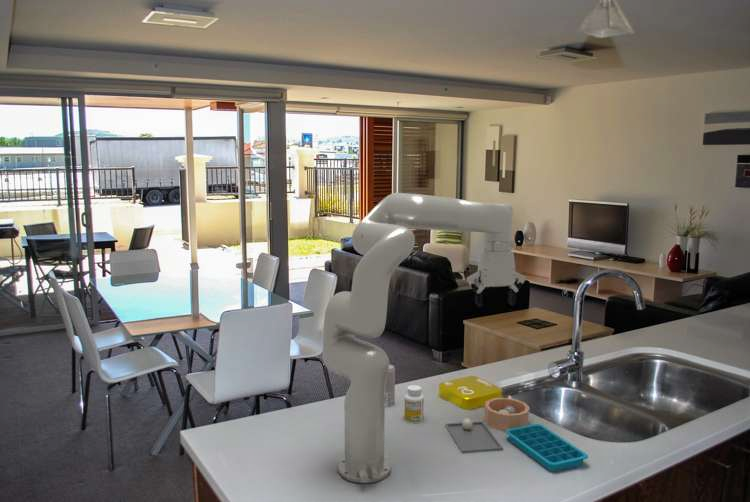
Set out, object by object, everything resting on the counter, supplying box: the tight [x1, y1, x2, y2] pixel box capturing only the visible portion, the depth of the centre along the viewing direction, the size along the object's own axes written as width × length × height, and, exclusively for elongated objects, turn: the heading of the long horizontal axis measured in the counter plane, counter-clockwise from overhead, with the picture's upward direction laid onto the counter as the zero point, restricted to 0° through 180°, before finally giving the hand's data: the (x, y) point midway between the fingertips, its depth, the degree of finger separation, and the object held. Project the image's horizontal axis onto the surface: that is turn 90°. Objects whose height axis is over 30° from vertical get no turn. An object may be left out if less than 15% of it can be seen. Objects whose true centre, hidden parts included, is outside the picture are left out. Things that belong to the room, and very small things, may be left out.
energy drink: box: [385, 363, 396, 408], centre depth 186 cm, size 5×5×12 cm
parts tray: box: [444, 421, 504, 454], centre depth 165 cm, size 16×11×1 cm
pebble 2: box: [498, 409, 510, 414], centre depth 173 cm, size 4×4×4 cm
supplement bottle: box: [404, 384, 425, 424], centre depth 176 cm, size 5×5×10 cm
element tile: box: [438, 375, 503, 411], centre depth 192 cm, size 15×15×5 cm
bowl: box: [483, 397, 530, 432], centre depth 174 cm, size 12×12×5 cm
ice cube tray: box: [504, 423, 589, 472], centre depth 157 cm, size 12×20×3 cm, turn 22°
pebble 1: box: [461, 417, 474, 430], centre depth 169 cm, size 3×3×3 cm
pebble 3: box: [504, 406, 516, 414], centre depth 176 cm, size 4×4×4 cm
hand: (495, 305), depth 177 cm, fingers open, 9 cm apart
